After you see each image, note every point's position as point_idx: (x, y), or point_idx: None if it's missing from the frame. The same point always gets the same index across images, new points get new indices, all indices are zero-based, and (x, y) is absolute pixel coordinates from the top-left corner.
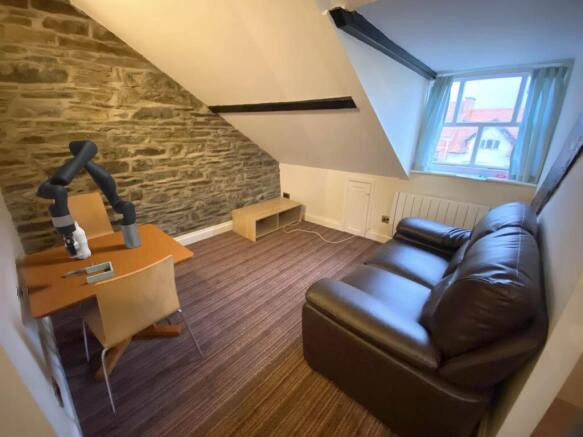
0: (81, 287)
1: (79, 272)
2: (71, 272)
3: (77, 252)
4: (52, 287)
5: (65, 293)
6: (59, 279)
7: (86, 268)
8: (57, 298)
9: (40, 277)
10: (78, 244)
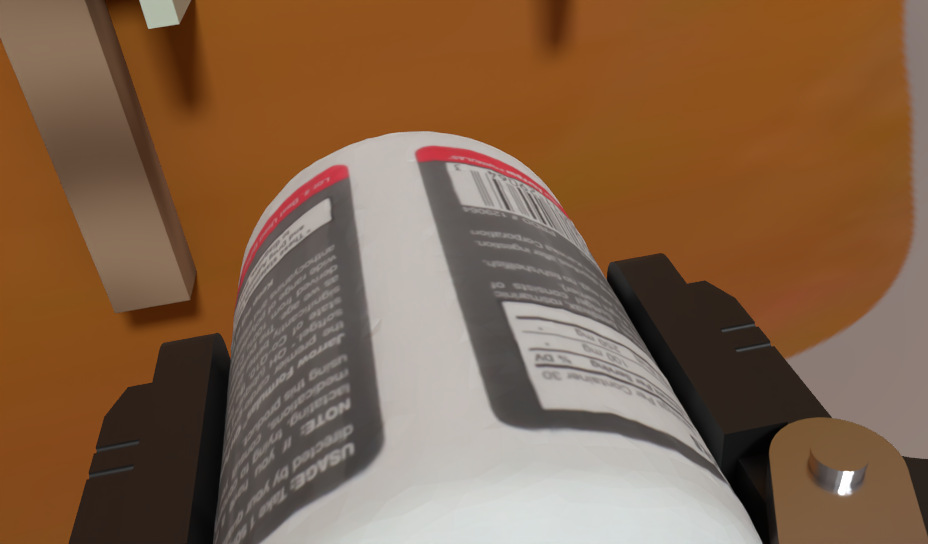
0: (635, 17)
1: (136, 121)
2: (138, 232)
3: (591, 259)
4: None
5: (667, 182)
6: (218, 330)
7: (176, 9)
8: (727, 238)
9: (61, 524)
10: (494, 393)
